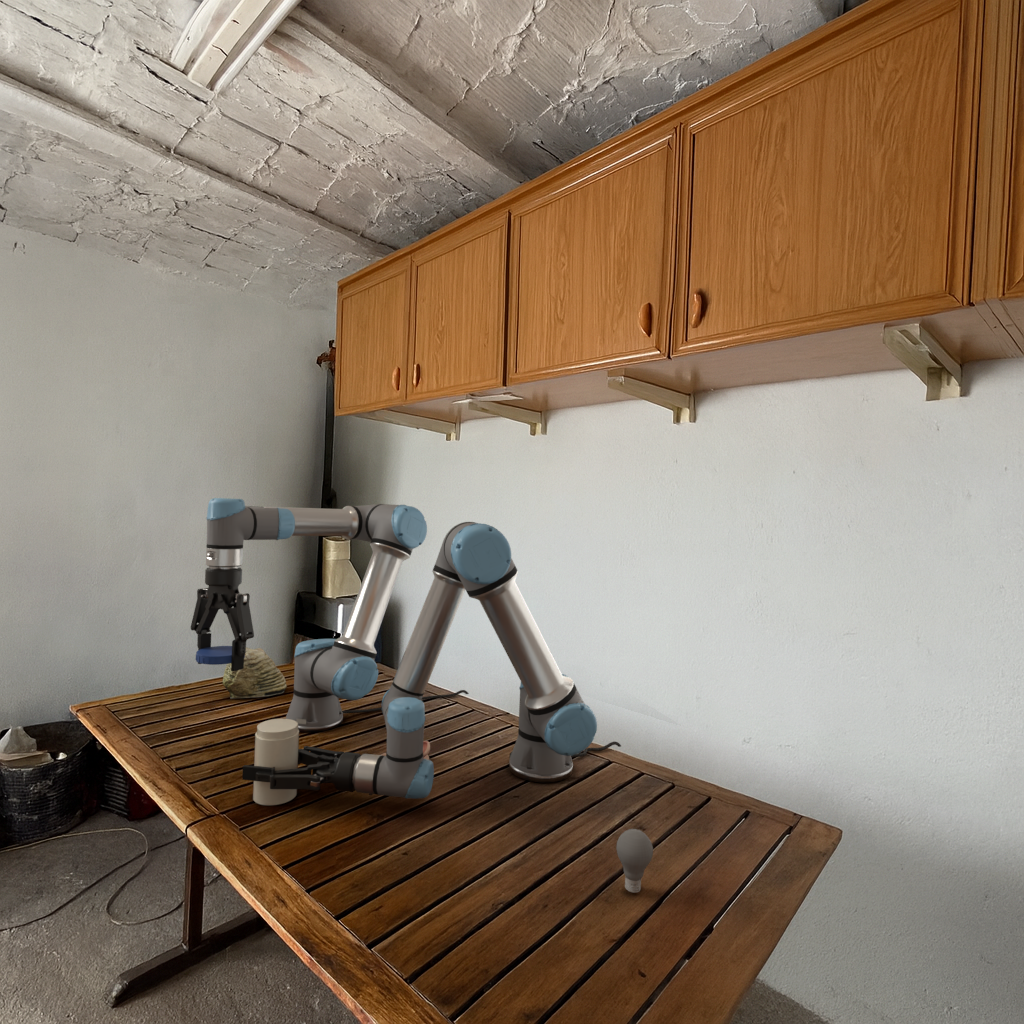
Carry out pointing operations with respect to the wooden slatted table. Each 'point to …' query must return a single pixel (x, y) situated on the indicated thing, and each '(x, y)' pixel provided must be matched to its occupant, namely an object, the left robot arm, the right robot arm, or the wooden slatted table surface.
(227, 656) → the lid
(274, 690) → the fossil
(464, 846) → the wooden slatted table surface
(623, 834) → the light bulb
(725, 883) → the wooden slatted table surface
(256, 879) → the wooden slatted table surface
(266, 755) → the jar
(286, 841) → the wooden slatted table surface
